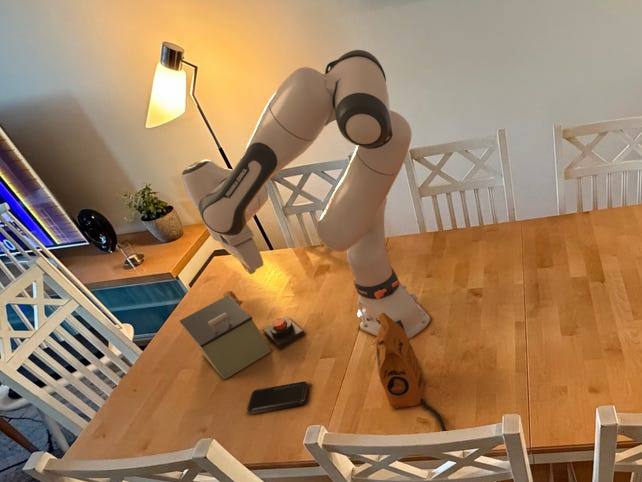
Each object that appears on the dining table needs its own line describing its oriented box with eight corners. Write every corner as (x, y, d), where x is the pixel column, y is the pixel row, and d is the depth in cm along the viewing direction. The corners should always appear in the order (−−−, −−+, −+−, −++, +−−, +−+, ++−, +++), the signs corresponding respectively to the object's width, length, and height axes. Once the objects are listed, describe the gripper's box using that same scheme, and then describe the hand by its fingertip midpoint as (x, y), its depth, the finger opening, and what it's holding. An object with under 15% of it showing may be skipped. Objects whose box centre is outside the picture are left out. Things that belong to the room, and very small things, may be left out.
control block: (304, 334, 152) (300, 326, 150) (281, 349, 149) (276, 340, 147) (288, 320, 159) (283, 311, 156) (265, 333, 155) (260, 325, 153)
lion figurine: (250, 319, 162) (237, 296, 156) (234, 326, 160) (220, 304, 154) (239, 298, 172) (226, 277, 165) (223, 305, 170) (210, 283, 164)
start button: (288, 325, 151) (286, 321, 150) (278, 332, 150) (275, 327, 149) (283, 321, 154) (280, 316, 152) (272, 327, 152) (270, 323, 151)
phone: (303, 402, 130) (246, 411, 130) (304, 405, 131) (248, 414, 131) (307, 380, 136) (253, 389, 136) (309, 383, 136) (254, 392, 137)
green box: (271, 351, 149) (251, 317, 140) (224, 379, 142) (200, 346, 134) (248, 329, 158) (229, 297, 149) (204, 355, 152) (180, 323, 143)
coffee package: (385, 413, 125) (359, 348, 110) (388, 377, 134) (364, 313, 119) (425, 407, 125) (404, 341, 110) (425, 371, 134) (405, 306, 119)
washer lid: (252, 319, 139) (245, 306, 136) (201, 347, 133) (193, 335, 130) (229, 297, 149) (222, 284, 146) (180, 322, 143) (172, 310, 140)
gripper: (200, 220, 133) (225, 264, 143) (230, 243, 121) (256, 290, 131) (222, 210, 136) (245, 254, 145) (254, 232, 124) (277, 278, 133)
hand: (251, 271), depth 138 cm, fingers closed
